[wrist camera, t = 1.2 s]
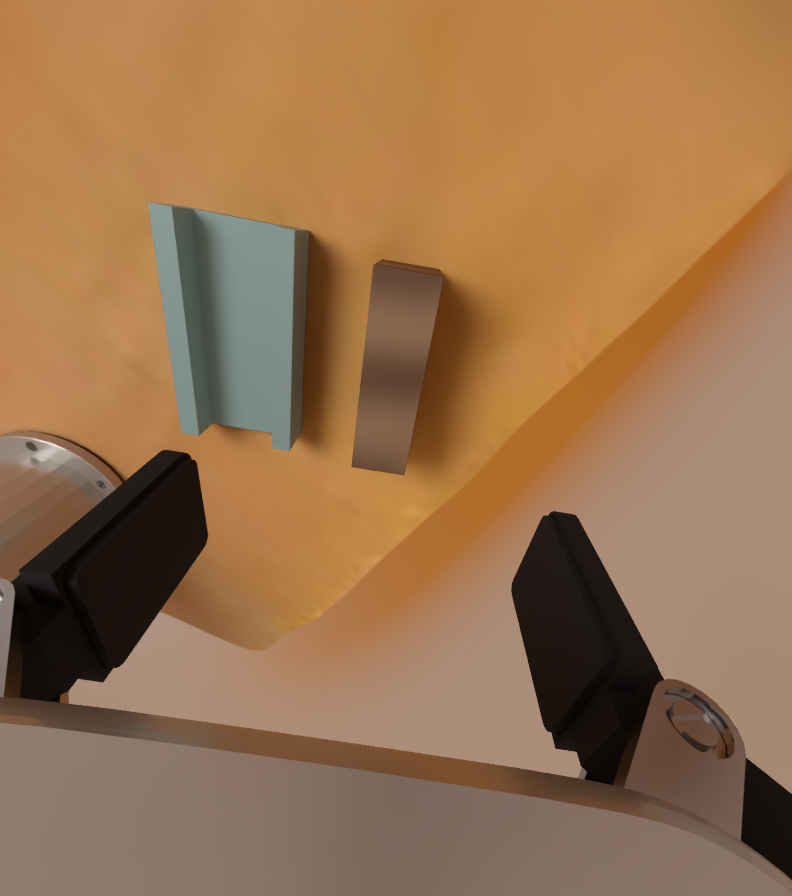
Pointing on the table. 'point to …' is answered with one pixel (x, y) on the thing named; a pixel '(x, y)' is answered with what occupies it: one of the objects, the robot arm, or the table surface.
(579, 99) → the table surface
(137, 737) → the robot arm
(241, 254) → the grey-blue channel block
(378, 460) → the walnut strip
